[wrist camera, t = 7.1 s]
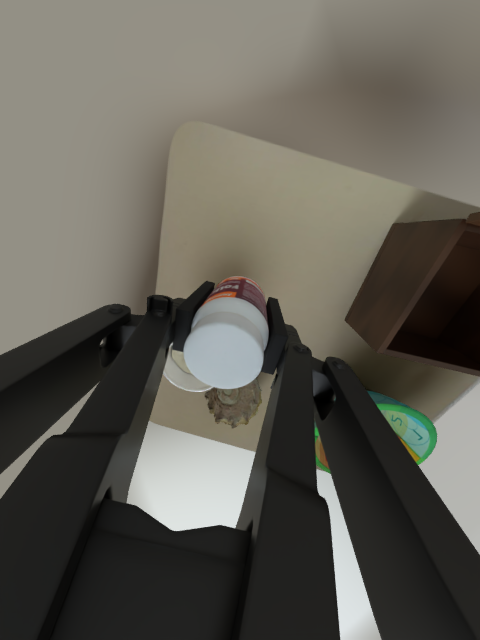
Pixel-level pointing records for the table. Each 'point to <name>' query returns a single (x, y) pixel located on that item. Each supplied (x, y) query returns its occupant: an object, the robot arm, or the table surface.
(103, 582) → the robot arm
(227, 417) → the seashell
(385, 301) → the chest
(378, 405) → the bowl
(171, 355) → the candle holder
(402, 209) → the table surface
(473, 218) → the lid
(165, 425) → the table surface
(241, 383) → the pill bottle
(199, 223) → the table surface
